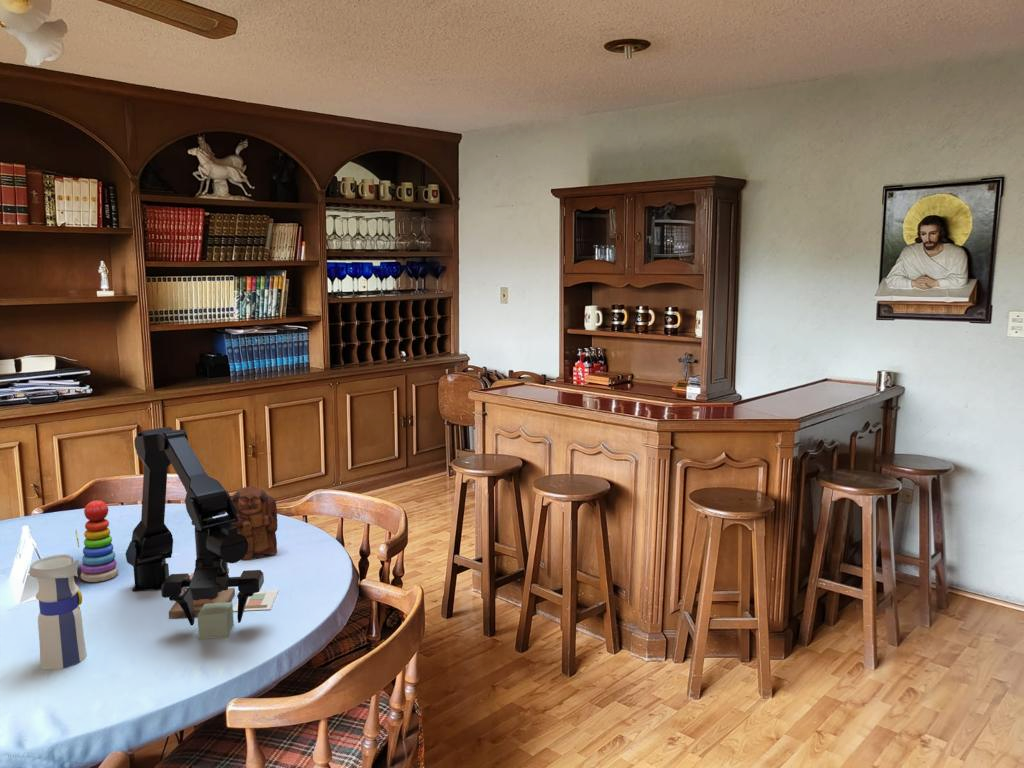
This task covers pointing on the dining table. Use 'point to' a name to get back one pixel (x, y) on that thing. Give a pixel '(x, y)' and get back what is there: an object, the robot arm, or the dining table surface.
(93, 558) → the stacking toy
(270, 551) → the wooden figurine
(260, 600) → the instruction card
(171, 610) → the walnut plate
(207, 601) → the terracotta block
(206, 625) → the sage block
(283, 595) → the dining table surface
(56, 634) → the beige and blue vase
